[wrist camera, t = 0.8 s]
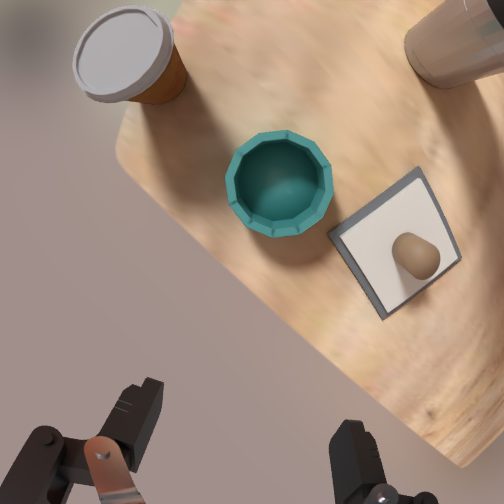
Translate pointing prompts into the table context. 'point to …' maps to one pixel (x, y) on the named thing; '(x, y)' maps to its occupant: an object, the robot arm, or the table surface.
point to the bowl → (279, 183)
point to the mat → (367, 210)
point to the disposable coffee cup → (129, 58)
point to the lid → (401, 245)
